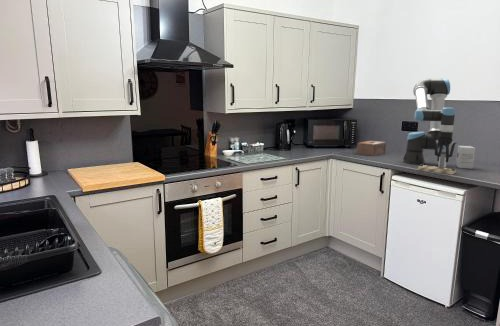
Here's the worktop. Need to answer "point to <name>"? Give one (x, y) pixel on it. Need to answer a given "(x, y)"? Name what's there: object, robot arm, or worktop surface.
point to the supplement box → (465, 157)
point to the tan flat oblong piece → (436, 169)
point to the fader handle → (442, 160)
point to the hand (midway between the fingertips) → (442, 166)
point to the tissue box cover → (371, 148)
